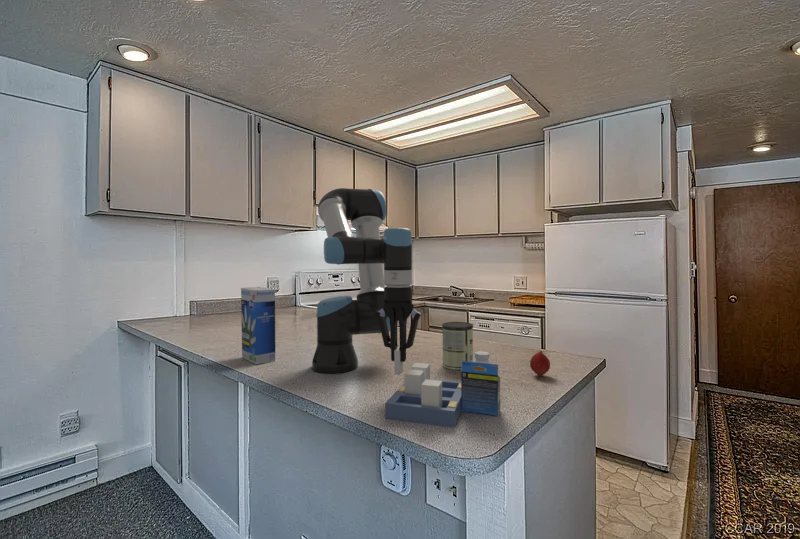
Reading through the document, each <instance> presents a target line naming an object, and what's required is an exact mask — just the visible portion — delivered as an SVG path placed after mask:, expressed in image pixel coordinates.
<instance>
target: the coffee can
mask: <svg viewBox="0 0 800 539" xmlns="http://www.w3.org/2000/svg"><path fill="white" fill-rule="evenodd" d="M441 327H442V367H444V368H445V369H448V370H453V371H461V368H462V361H469V362H473V360H474V350H473V349H474V345H473V344H474V343H473V340H474V337H473V336H474V329H473V328H474V324H473V323H471V322H466V321H447V322H444V323H442V324H441Z"/></svg>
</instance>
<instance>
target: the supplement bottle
mask: <svg viewBox="0 0 800 539" xmlns="http://www.w3.org/2000/svg"><path fill="white" fill-rule="evenodd" d="M473 362H478V363H487V364H493V363H492V361H491V360H490V352H488V351H479V350H478V351H475V352H474V359H473ZM473 369H474V370H482V371H485V368H481V367H480V366H478V367H473Z"/></svg>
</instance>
